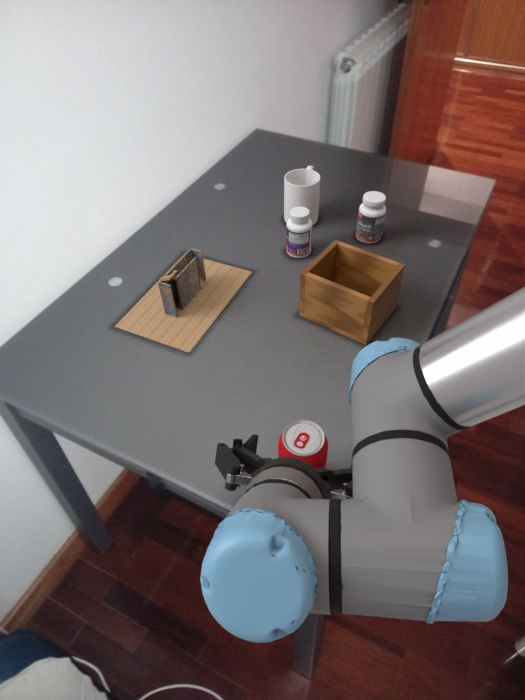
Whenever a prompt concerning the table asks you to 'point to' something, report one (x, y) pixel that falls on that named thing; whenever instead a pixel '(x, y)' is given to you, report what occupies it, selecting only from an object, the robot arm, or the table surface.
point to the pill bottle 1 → (299, 233)
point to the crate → (350, 290)
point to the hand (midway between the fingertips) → (303, 452)
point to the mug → (302, 192)
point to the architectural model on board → (184, 301)
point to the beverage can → (304, 443)
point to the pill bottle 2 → (371, 217)
